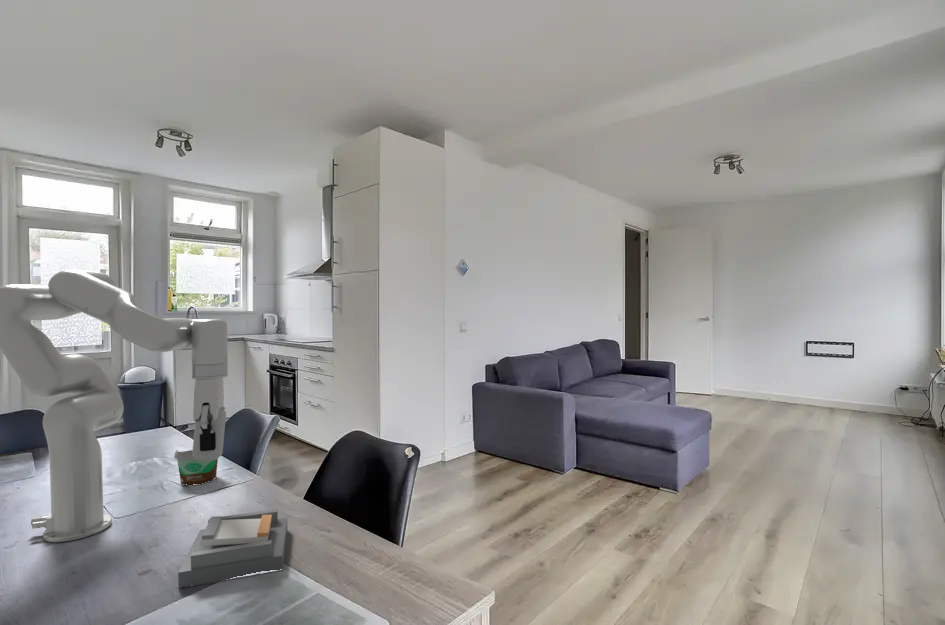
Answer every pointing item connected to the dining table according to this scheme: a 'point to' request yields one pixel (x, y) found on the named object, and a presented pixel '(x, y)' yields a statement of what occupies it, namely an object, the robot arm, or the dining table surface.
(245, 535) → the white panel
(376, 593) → the dining table surface
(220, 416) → the beverage can
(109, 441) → the dining table surface
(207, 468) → the food container
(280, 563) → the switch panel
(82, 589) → the dining table surface
